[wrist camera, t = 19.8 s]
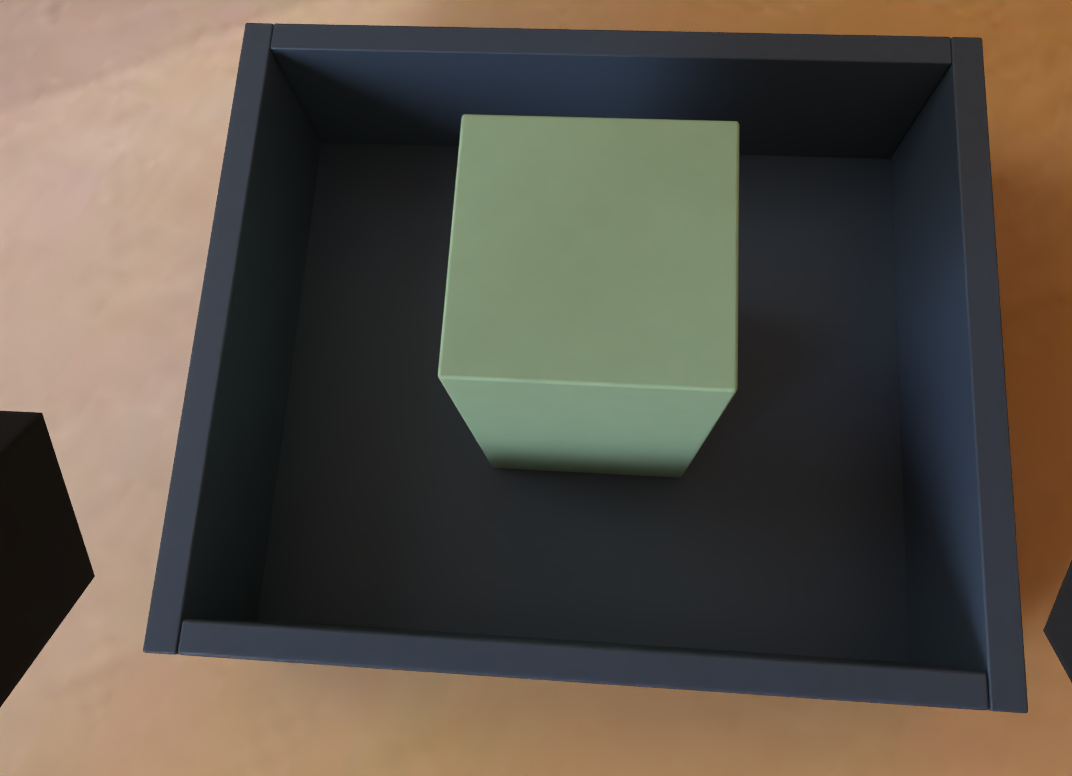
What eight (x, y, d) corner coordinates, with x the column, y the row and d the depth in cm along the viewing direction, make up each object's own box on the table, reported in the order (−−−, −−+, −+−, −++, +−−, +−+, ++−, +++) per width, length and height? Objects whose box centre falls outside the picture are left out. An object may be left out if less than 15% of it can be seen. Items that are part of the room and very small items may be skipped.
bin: (234, 646, 26) (141, 652, 21) (306, 130, 30) (245, 22, 25) (932, 694, 25) (1029, 713, 19) (908, 146, 29) (982, 36, 23)
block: (492, 468, 26) (436, 378, 17) (504, 290, 28) (461, 112, 18) (682, 478, 26) (738, 391, 16) (686, 297, 27) (740, 119, 18)
